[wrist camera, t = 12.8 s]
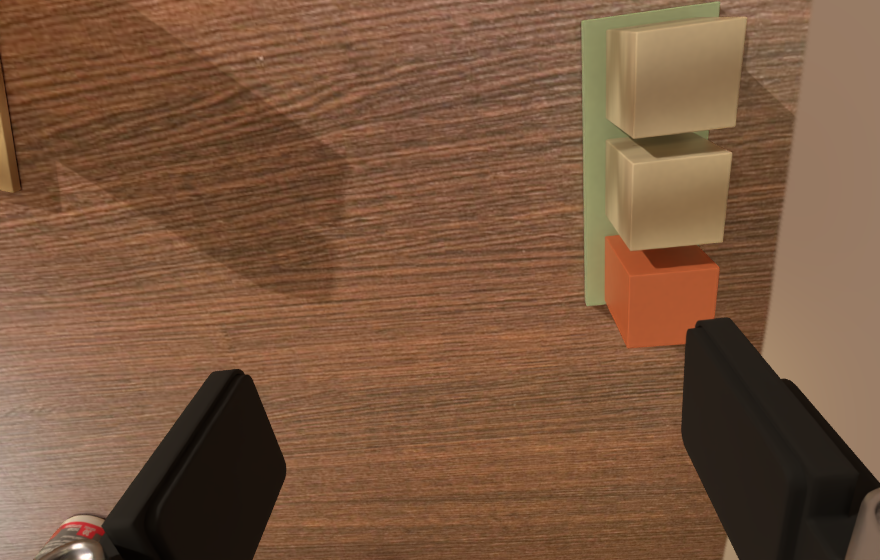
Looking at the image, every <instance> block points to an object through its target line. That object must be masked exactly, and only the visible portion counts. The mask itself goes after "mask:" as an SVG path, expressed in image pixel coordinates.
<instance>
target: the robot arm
mask: <svg viewBox="0 0 880 560" xmlns="http://www.w3.org/2000/svg"><path fill="white" fill-rule="evenodd" d="M681 432H682V439H683V443H684V446H685V448H686V450H687V452H688V455H689V457H690V459H691V461H692V463H693V465H694V467H695V469H696V471H697V473H698V475H699V477H700V479H701V481H702V484H703V486H704V488H705V490H706V492H707V494H708V496H709V498H710V500H711V502H712V504H713V506H714V508H715V511H716V513H717V515H718V517H719V519H720V521H721V523H722V525H723V527H724V529H725V531H726V533H727V535H728V537H729V540H730V542H731V544H732V546H733V548H734V550H735V552H736V554H737V556H738V558H739V560H880V483H879V482H878V480H877V479H876V478H875V477H874V476H873V475H872V473H871V472H870V471H869V470H868V469H867V468H866V466H865V465H864V464H863V463H862V462H861V461H860V459H859V458H858V457H857V456H856V455H855V454H854V452H853V451H852V450H851V449H850V448H849V447H848V445H847V444H846V443H845V442H844V441H843V439H842V438H841V437H840V436H839V435H838V434H837V432H836V431H835V430H834V429H833V428H832V427H831V426H830V424H829V423H828V422H827V421H826V420H825V419H824V418H823V416H822V415H821V414H820V413H819V411H818V410H817V409H816V408H815V407H814V406H813V404H812V403H811V402H810V401H809V400H808V399H807V397H806V396H805V395H804V394H803V393H802V392H801V391H800V389H799V388H798V387H797V386H796V385H795V384H794V383H793V382H792V381H790V380H788V379H780V377H779V376H778V375H777V374H776V373H775V372H774V370H773V369H772V368H771V367H770V365H769V364H768V363H767V362H766V361H765V360H764V358H763V357H762V356H761V355H760V353H759V352H758V351H757V350H756V349H755V347H754V346H753V345H752V344H751V343H750V341H749V340H748V339H747V338H746V337H745V335H744V334H743V333H742V332H741V331H740V329H739V328H738V327H737V326H736V325H735V323H734V322H733V321H732V320H731V319H730V318H727V317H725V318H716V319H706V320H698V321H697V322H696V324H695V328H690V329H688V330H687V332H686V346H685V366H684V386H683V406H682V425H681ZM285 476H286V463H285V460H284V457H283V455H282V452H281V450H280V447H279V445H278V442H277V440H276V437H275V435H274V432H273V430H272V427H271V425H270V422H269V420H268V417H267V415H266V412H265V410H264V407H263V405H262V402H261V400H260V397H259V395H258V392H257V390H256V387H255V384H254V382H253V380H252V378H251V376H249V375H245V374H244V372H243V371H242V370H240V369H233V370H223V371H215V372H212V373H211V374H210V375H209V377H208V378H207V379H206V381H205V382H204V384H203V385H202V386H201V388H200V389H199V391H198V392H197V393H196V395H195V396H194V397H193V399H192V400H191V402H190V403H189V404H188V406H187V407H186V409H185V410H184V411H183V413H182V414H181V415H180V417H179V418H178V420H177V421H176V422H175V424H174V425H173V427H172V428H171V429H170V431H169V432H168V433H167V435H166V436H165V438H164V439H163V440H162V442H161V443H160V445H159V446H158V447H157V449H156V450H155V451H154V453H153V454H152V456H151V457H150V458H149V460H148V461H147V463H146V464H145V465H144V467H143V468H142V470H141V471H140V472H139V474H138V475H137V476H136V478H135V479H134V481H133V482H132V483H131V485H130V486H129V488H128V489H127V490H126V492H125V493H124V494H123V496H122V497H121V499H120V500H119V501H118V503H117V504H116V506H115V507H114V508H113V510H112V511H111V512H110V514H109V515H108V517H107V518H106V519H105V521H104V522H103V524H102V525H101V527H102V528H103V530H104V531H105V533H104V534H103V536H102V537H101V539H100V540H99V542H97V541H95V540H93V539H79V540H75V541H71V542H68V543H66V544H64V545H61V546H59V547H57V548H55V549H53V550H52V551H50V552H49V553H47V554H45V555H44V556H42V557H41V558H40V559H38V560H252V559H253V557H254V554H255V552H256V550H257V547H258V545H259V542H260V540H261V537H262V535H263V532H264V530H265V527H266V525H267V522H268V520H269V517H270V515H271V512H272V510H273V507H274V505H275V502H276V500H277V497H278V495H279V492H280V490H281V487H282V485H283V482H284V480H285Z"/></svg>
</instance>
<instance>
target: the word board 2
mask: <svg viewBox="0 0 880 560" xmlns="http://www.w3.org/2000/svg"><path fill="white" fill-rule="evenodd" d="M719 11H720V2H710V3H702V4H695V5H688V6H681V7H674V8H667V9H660V10H653V11H646V12H639V13H632V14H625V15H618V16H611V17H604V18H597V19H590V20H583V21H582V22H581V32H582V110H583V188H584V266H585V302H586V305H587V306H593V305H605V304H606V302H605V237H606V236H614V235H620V237H621V238H622V240H623V241H624V243H625V244H626V245H627V247H628V248H629V250H630V251H638V250H648V249H659V248H669V247H679V246H690V245H698V246H699V245H700V244H711V243H721V242H723V236H724V227H725V217H726V208H727V199H728V190H729V181H730V172H731V163H732V152H730V151H728V150H726V149H724V148H722V147H720V146H718V145H716V144H714V143H712V142H711V141H709V140H708V135H709V130H715V129H723V128H732V127H735V126H736V117H737V108H738V99H739V90H740V81H741V71H742V62H743V53H744V44H745V35H746V26H747V17H719Z"/></svg>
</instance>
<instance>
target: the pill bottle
mask: <svg viewBox="0 0 880 560" xmlns="http://www.w3.org/2000/svg"><path fill="white" fill-rule="evenodd" d="M104 521H105V520H104V519H101V518H98V517H94V516H89V515H79V516H74V517H71V518H69V519H67V520H66V521H65V522H64V523H63V524H62V525H61V526H60V527H59V529H58V530H57V531H56V532H55V533H54V534H53V536H52V537H51V538H50V539H49V541H48V542H47V543H46V544H45V546H44V547H43V548H42V549H41V551H40V552H39V553H38V554H37V556H36V557H35V558H34V559H33V560H38V559H40V558H41V557H42V556H44V555H45V554H47V553H49V552H50V551H52V550H53V549H55V548H57V547H59V546H61V545H64V544H66V543H68V542H71V541H75V540H79V539H93V540H95V541H97V542H99V540H100V539H101V537H102V536H103V534H104V533H105V531H104V530H103V528H102V527H101V525H102V524H103V522H104Z"/></svg>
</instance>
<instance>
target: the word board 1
mask: <svg viewBox="0 0 880 560" xmlns="http://www.w3.org/2000/svg"><path fill="white" fill-rule="evenodd" d="M0 190H1V191H6V192H11V193H15V192H17V191H20V190H21V187H20V181H19V174H18V168H17V162H16V155H15V149H14V143H13V137H12V130H11V124H10V118H9V111H8V105H7V99H6V92H5V86H4V80H3V74H2V67H1V61H0Z"/></svg>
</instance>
